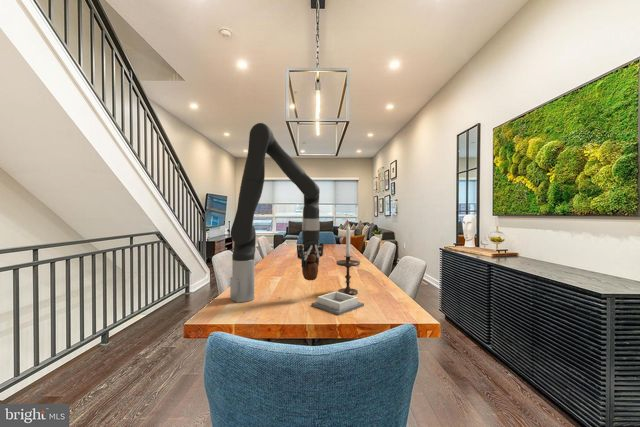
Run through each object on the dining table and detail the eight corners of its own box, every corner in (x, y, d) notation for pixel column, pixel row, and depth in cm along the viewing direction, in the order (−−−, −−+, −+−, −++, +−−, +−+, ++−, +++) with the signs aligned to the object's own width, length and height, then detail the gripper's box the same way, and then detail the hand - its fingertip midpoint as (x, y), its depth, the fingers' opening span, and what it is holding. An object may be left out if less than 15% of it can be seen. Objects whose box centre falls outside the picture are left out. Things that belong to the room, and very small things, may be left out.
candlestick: (333, 294, 132) (333, 217, 132) (340, 288, 142) (340, 217, 142) (356, 297, 128) (356, 218, 127) (362, 290, 138) (362, 217, 138)
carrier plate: (339, 315, 106) (339, 305, 106) (311, 305, 117) (311, 296, 117) (364, 305, 117) (364, 297, 117) (336, 297, 127) (336, 289, 127)
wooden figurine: (319, 278, 127) (320, 244, 127) (315, 281, 121) (315, 246, 121) (305, 277, 129) (305, 243, 129) (300, 280, 124) (300, 245, 123)
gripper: (316, 228, 133) (316, 264, 133) (292, 229, 123) (291, 268, 123) (328, 229, 127) (328, 266, 127) (304, 230, 117) (303, 271, 117)
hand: (310, 267), depth 125 cm, fingers closed on wooden figurine, 6 cm apart
